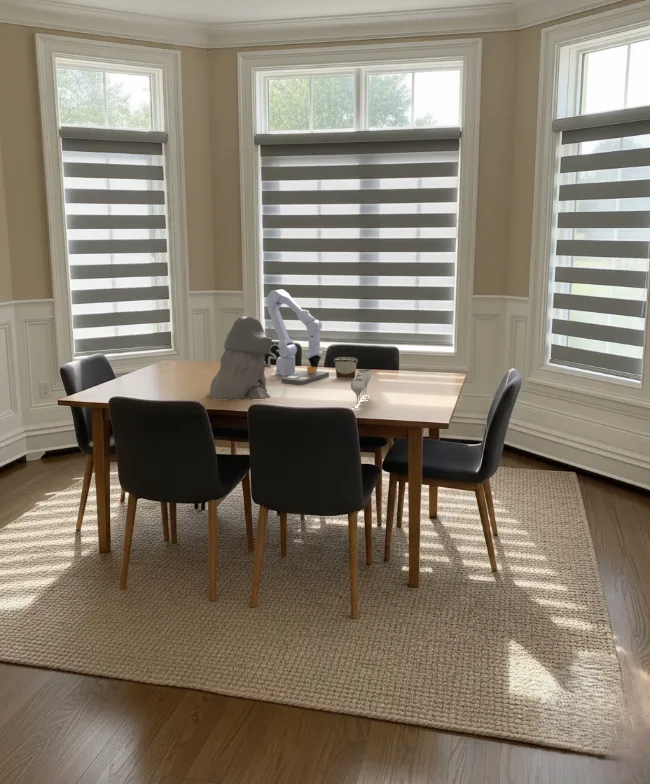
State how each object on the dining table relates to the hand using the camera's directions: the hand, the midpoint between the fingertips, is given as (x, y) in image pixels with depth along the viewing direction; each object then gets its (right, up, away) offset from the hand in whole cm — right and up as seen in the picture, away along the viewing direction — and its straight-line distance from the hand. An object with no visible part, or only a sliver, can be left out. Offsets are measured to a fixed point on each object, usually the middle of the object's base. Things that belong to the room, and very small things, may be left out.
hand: (314, 370), depth 376 cm
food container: (+16, -4, -1) cm, 17 cm away
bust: (-32, -12, -38) cm, 51 cm away
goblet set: (+21, -16, -57) cm, 63 cm away
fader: (-1, -1, -2) cm, 3 cm away
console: (-4, -5, -7) cm, 9 cm away
